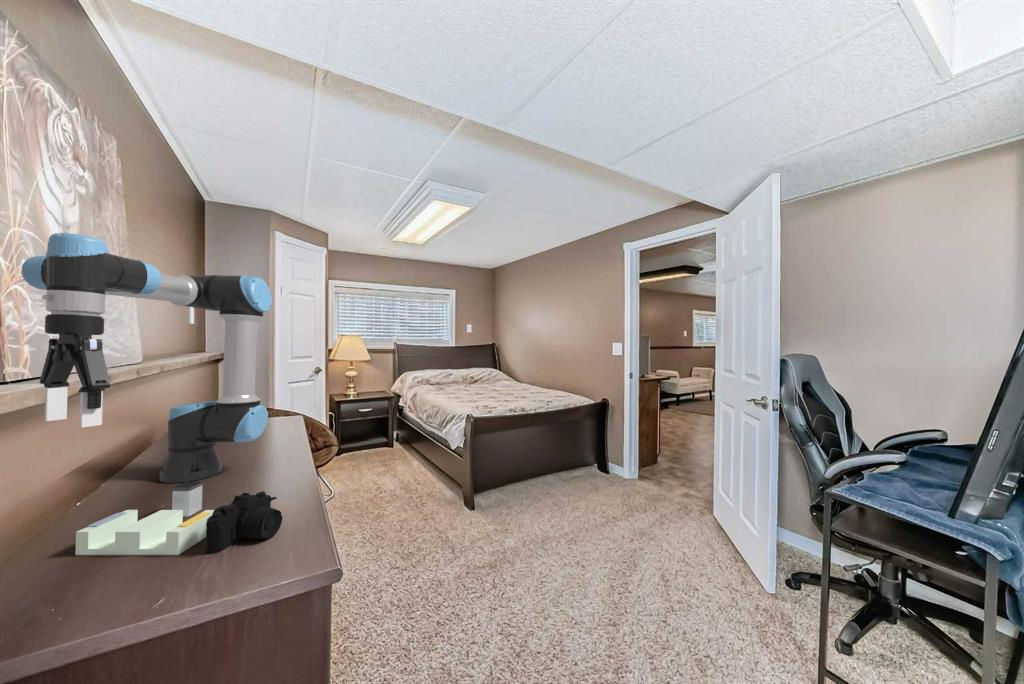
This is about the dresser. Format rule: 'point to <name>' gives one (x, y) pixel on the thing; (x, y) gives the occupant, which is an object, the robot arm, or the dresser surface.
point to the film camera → (242, 521)
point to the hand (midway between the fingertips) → (72, 423)
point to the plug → (187, 497)
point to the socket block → (142, 534)
